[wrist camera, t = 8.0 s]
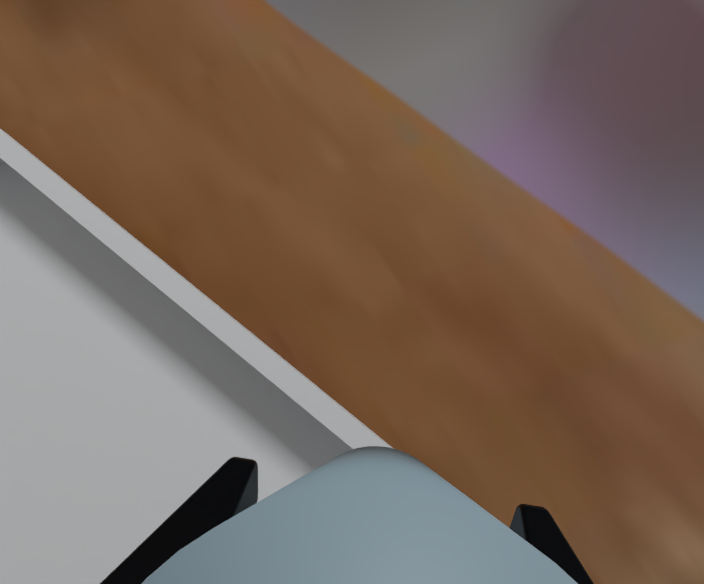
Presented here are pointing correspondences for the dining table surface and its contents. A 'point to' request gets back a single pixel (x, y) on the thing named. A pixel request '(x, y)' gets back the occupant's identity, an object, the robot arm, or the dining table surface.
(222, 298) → the dining table surface
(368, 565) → the dowel
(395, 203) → the dining table surface
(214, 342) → the tray
